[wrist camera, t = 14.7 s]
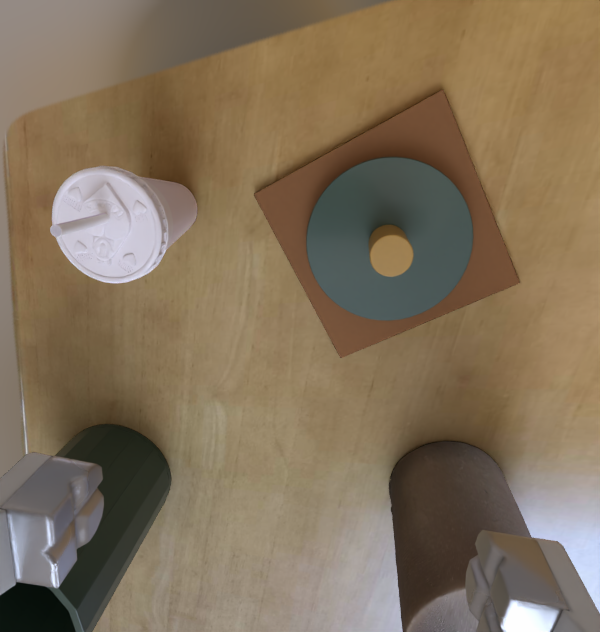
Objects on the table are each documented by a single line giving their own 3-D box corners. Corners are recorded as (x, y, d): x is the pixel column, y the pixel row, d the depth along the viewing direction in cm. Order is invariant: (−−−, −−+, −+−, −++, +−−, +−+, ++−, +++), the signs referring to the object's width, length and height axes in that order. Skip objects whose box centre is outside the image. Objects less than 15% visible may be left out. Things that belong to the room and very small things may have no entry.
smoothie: (220, 172, 33) (127, 186, 20) (209, 258, 35) (119, 322, 22) (134, 154, 33) (-14, 155, 20) (129, 240, 35) (-8, 293, 22)
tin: (61, 494, 45) (-68, 642, 31) (73, 409, 41) (-67, 535, 28) (159, 527, 45) (72, 690, 31) (180, 445, 41) (93, 590, 28)
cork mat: (254, 193, 33) (253, 194, 32) (441, 89, 29) (443, 89, 29) (340, 355, 36) (340, 358, 36) (517, 281, 33) (520, 282, 32)
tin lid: (288, 287, 34) (277, 309, 29) (337, 133, 30) (332, 130, 26) (430, 335, 34) (442, 365, 29) (497, 187, 30) (524, 193, 25)
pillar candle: (374, 513, 41) (381, 701, 27) (411, 424, 38) (441, 587, 23) (479, 545, 41) (542, 751, 27) (526, 458, 37) (627, 643, 23)
